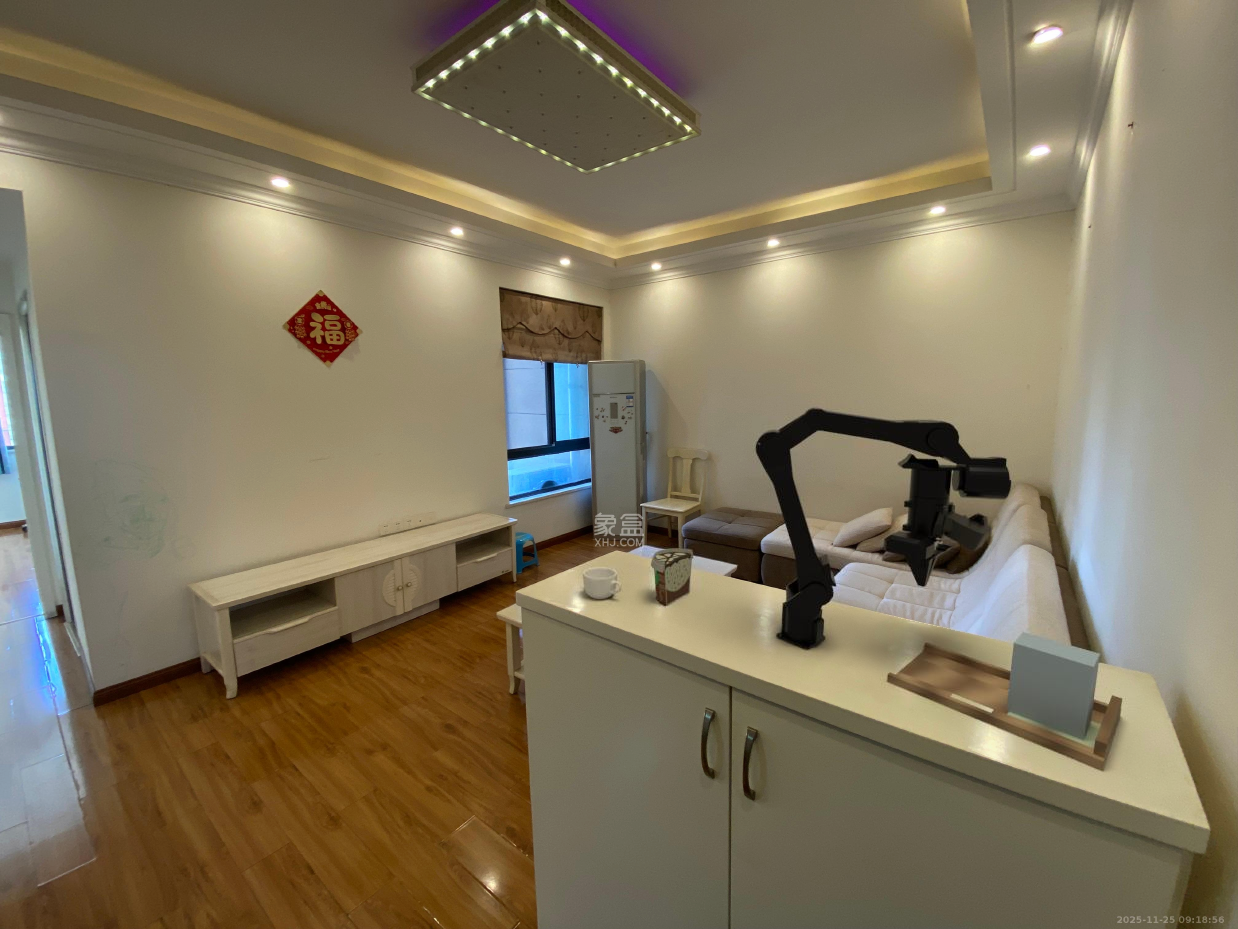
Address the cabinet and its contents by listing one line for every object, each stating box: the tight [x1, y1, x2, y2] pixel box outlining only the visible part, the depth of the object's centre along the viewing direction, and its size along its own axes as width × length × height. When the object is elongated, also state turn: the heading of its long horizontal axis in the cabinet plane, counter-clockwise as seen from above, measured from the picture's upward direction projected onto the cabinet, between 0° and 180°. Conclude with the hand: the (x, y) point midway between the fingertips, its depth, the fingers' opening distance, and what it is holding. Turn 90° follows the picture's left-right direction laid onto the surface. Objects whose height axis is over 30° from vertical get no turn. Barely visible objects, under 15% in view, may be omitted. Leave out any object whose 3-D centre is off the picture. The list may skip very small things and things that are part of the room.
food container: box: [650, 548, 694, 607], centre depth 111 cm, size 12×6×10 cm, turn 141°
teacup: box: [582, 566, 622, 600], centre depth 112 cm, size 10×8×5 cm
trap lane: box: [886, 642, 1123, 772], centre depth 72 cm, size 24×16×4 cm, turn 40°
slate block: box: [1006, 631, 1101, 740], centre depth 67 cm, size 8×5×10 cm, turn 40°
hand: (921, 585), depth 85 cm, fingers closed
